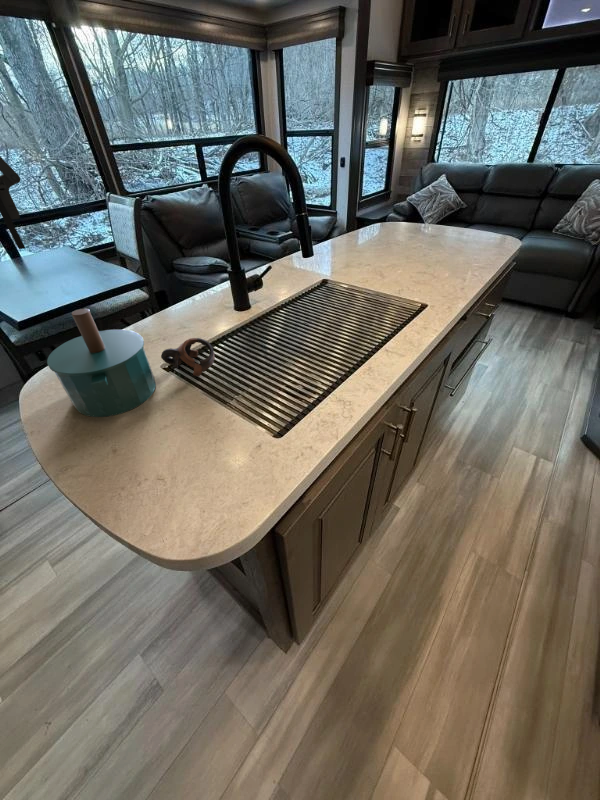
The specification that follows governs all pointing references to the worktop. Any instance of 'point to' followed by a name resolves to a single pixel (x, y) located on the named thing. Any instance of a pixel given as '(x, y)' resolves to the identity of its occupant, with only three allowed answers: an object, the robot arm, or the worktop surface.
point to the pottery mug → (189, 356)
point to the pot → (111, 388)
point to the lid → (94, 348)
